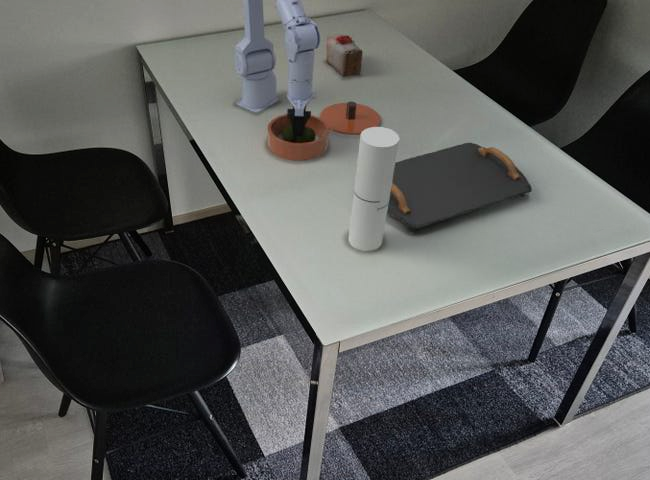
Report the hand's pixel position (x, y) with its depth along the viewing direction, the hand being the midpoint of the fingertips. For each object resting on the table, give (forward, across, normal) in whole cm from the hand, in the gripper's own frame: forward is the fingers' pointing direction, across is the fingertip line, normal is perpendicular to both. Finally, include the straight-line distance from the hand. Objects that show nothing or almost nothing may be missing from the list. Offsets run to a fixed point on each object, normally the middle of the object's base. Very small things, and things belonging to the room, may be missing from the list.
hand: (298, 127), depth 159 cm
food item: (+5, +45, -13) cm, 47 cm away
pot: (+5, 0, 0) cm, 5 cm away
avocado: (+5, 0, 0) cm, 5 cm away
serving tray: (+5, -17, -34) cm, 39 cm away
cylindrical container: (+5, -36, -15) cm, 40 cm away
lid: (+4, +13, -14) cm, 20 cm away
